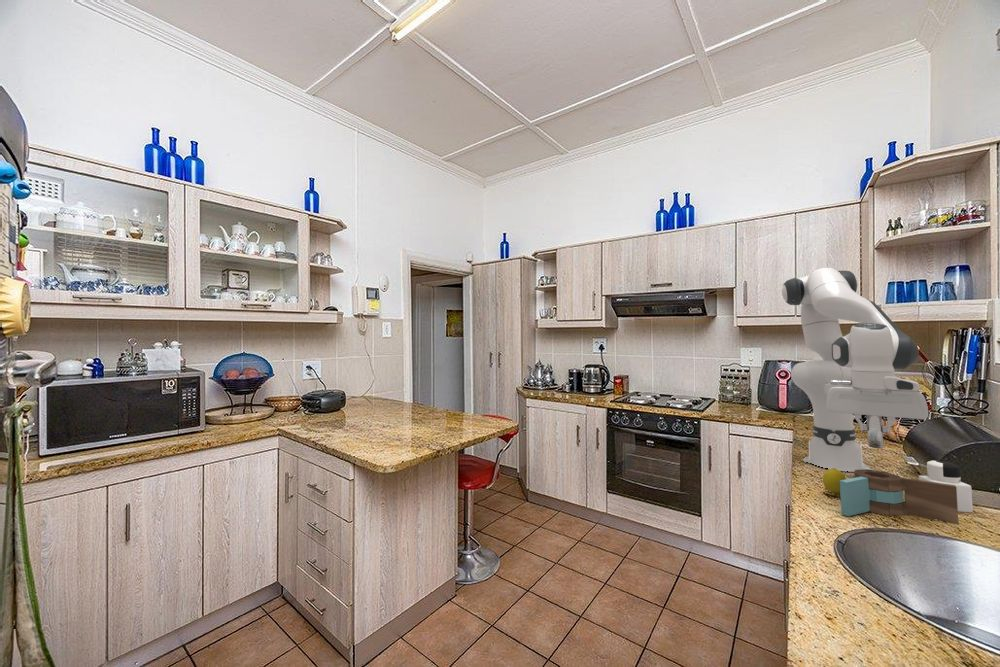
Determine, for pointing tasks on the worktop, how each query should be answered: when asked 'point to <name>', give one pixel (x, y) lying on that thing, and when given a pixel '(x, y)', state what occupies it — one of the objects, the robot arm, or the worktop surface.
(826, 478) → the lemon
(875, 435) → the steel pin
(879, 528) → the worktop surface
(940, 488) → the hinge fixed leaf
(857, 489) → the hinge swing leaf
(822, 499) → the worktop surface
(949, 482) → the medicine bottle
